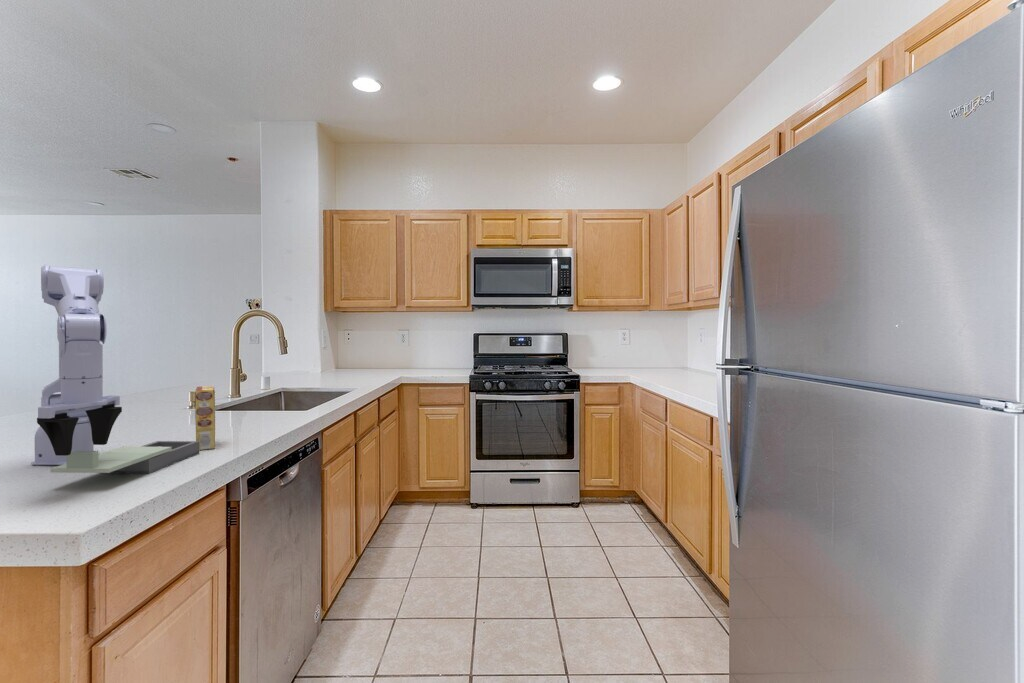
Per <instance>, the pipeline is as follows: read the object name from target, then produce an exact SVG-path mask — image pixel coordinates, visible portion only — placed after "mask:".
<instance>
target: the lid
mask: <svg viewBox="0 0 1024 683" xmlns="http://www.w3.org/2000/svg"><path fill="white" fill-rule="evenodd" d="M171 450H172V447H140V446H132V445H131V446H127V445H126V446H125V445H123V446H120V447H117V448H113V449H110V450H107V451H104V452H100V453H99V450H94V451H71V454H70V455H67V456H66V460H67V464H63V465H56V466H53V467H51V468H50V473H55V474H57V473H58V474H59V473H60V474H61V473H63V474H64V473H66V474H67V473H68V474H71V473H74V474H75V473H76V474H78V473H79V474H80V473H81V474H83V473H85V474H86V473H87V474H88V473H89V474H90V473H91V474H95V473H96V474H111V473H110V472H112V471H115V470H118V469H121V468H124V467H126V466H129V465H132V464H135V463H138V462H140V461H143V460H146V459H149V458H152V457H154V456H157V455H160V454H163V453H166V452H169V451H171Z"/></svg>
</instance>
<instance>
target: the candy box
mask: <svg viewBox="0 0 1024 683" xmlns="http://www.w3.org/2000/svg"><path fill="white" fill-rule="evenodd" d="M194 397H195V399H194V401H195V403H194V404H195V411H194V412H195V441H199V451H204V450H213V449H215V447H216V399H215V398H216V396H215V385H209V386H208V385H207V386H205V385H204V386H196V389H195V396H194Z"/></svg>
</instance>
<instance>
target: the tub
mask: <svg viewBox="0 0 1024 683" xmlns="http://www.w3.org/2000/svg"><path fill="white" fill-rule="evenodd" d="M139 447H172V450H171V451H169V452H166V453H163V454H160V455H157V456H154V457H152V458H149V459H146V460H143V461H140V462H138V463H135V464H132V465H129V466H126V467H124V468H121V469H118V470H115V471H112V472H110V473H109V474H135V475H136V473H137V475H138V474H140V473H141V474H146V475H147V474H148V475H149V474H151V473H153V472H156V471H159V470H161V469H163V468H167V467H168V466H171V465H174V464H176V463H179V462H182V461H184V460H186V459H190V458H191V457H194V456H197V455H200V450H199V441H196V440H195V441H193V440H185V441H183V440H156V441H154V442H151V443H148V444H144V445H140V446H139Z"/></svg>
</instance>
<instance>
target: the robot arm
mask: <svg viewBox="0 0 1024 683" xmlns="http://www.w3.org/2000/svg"><path fill="white" fill-rule="evenodd" d="M40 270H41V271H40V285H41V286H40V288H41V298H42V299H43V303H45V304H47V305H51V306H53V307H54V309H55V312H56V313H57V315H58V317H57V320H56V321H57V322H56V324H57V325H56V329H57V330H56V334H57V341H58V379H56V380H55V381H52V382H51V383H49V384H48V385H45V386H44V387H43V389H42V390H41V398H40V399H41V401H40V405H41V406H38V407H37V418H36V423H37V424H38V425H39V427H38V428H37V429H36V430H35V434H34V461H33V462H30V465H32V466H46V465H47V466H60V465H63V464H67V460H66V456H67V455H70V454H71V451H95V450H94V448H95V446H105V445H107V444H108V442H109V438H110V435H111V431H112V429H113V426H114V424H115V422H116V420H118V417H119V416H120V414H122V411H123V410H122V409H123V408H122V406H120V405H121V401H120V399H121V396H120V395H104V396H103V394H104V393H103V390H104V389H103V384H104V382H103V381H104V380H103V379H104V377H103V375H104V374H103V370H104V369H103V367H104V366H103V365H104V364H103V361H104V359H103V358H104V357H103V356H104V354H103V352H104V351H103V347H104V346H103V345H105V342H106V338H107V321H106V318H105V314H104V313H101V312H100V309H99V303H100V302H101V299H102V295H103V294H104V286H105V285H104V272H103V271H102V270H101V269H100V268H96V269H95V268H93V269H92V268H81V267H70V266H57V265H49V264H44V265H42V266H41V269H40ZM100 342H101V343H100ZM94 445H95V446H94Z"/></svg>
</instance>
